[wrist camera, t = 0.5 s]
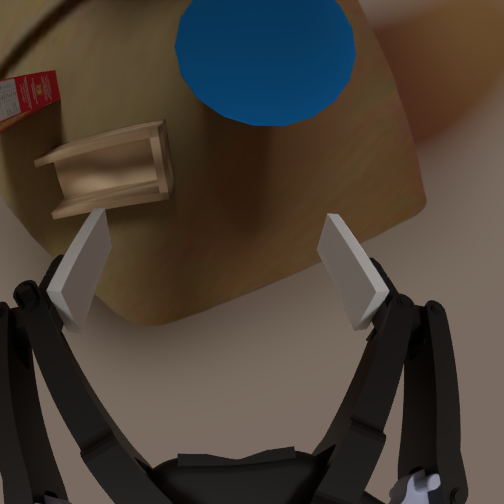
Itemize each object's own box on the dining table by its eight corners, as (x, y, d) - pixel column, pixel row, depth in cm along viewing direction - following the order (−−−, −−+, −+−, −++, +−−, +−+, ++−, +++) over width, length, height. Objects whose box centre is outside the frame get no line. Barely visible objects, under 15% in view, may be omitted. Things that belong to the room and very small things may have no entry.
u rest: (51, 148, 34) (33, 160, 29) (165, 119, 36) (157, 127, 31) (67, 202, 40) (53, 219, 36) (174, 182, 42) (169, 199, 37)
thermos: (249, 108, 36) (297, 160, 17) (183, 76, 32) (138, 83, 12) (288, 50, 31) (385, 34, 12) (222, 15, 27) (238, -58, 7)
